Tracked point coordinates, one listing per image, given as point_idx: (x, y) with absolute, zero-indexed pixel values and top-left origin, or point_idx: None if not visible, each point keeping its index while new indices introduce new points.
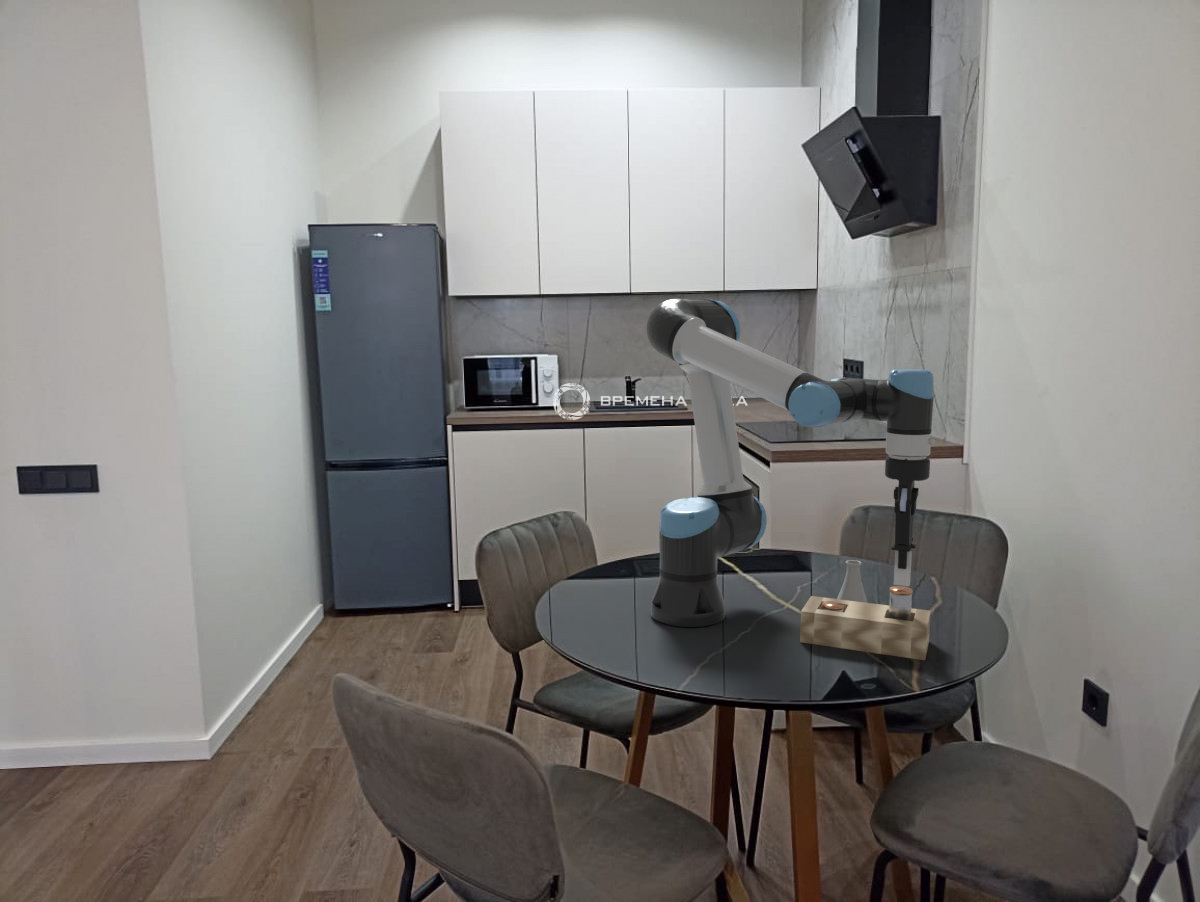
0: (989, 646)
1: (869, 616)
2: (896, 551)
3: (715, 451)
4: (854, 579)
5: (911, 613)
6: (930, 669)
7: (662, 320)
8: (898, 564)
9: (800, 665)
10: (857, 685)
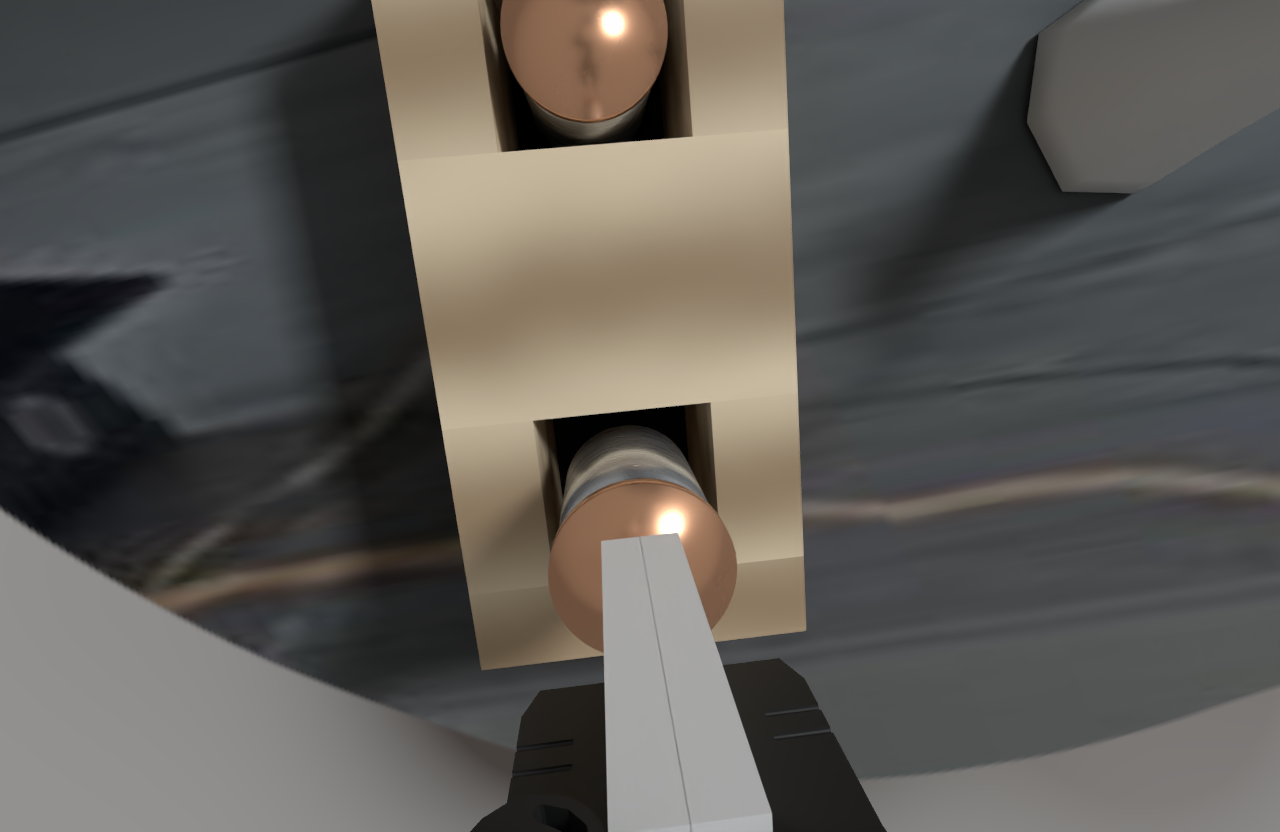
0: None
1: (504, 332)
2: (611, 829)
3: None
4: (1277, 41)
5: None
6: (416, 613)
7: None
8: (518, 739)
9: (77, 52)
10: (23, 382)
